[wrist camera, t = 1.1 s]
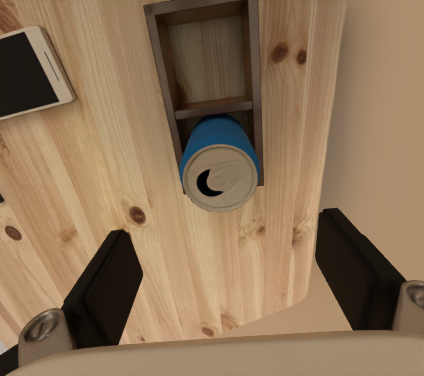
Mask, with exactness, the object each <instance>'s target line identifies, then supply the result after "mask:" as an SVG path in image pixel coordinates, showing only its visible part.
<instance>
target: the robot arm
mask: <svg viewBox="0 0 424 376" xmlns="http://www.w3.org/2000/svg"><path fill="white" fill-rule="evenodd" d="M315 258H316V262H317V264H318V266H319V268H320V270H321V272H322V274H323V275H324V277H325V279H326V281H327V283H328V285H329V287H330V288H331V290H332V292H333V294H334V296H335V298H336V300H337V301H338V303H339V305H340V307H341V309H342V311H343V313H344V314H345V316H346V318H347V320H348V322H349V323H350V326H351V328H352V329H353V331H333V332H311V333H295V334H279V335H260V336H244V337H229V338H213V339H198V340H183V341H169V342H154V343H140V344H126V345H118V344H119V342H120V339H121V336H122V333H123V330H124V328H125V325H126V322H127V319H128V317H129V314H130V311H131V308H132V305H133V303H134V300H135V297H136V294H137V292H138V289H139V286H140V283H141V281H142V277H143V271H142V268H141V265H140V263H139V260H138V257H137V254H136V252H135V249H134V246H133V244H132V241H131V238H130V235H129V233H128V232H125V231H124V230H114V231H111V232H110V233H109V234H108V236H107V237H106V239H105V240H104V242H103V243H102V245H101V246H100V248H99V249H98V251H97V252H96V254H95V255H94V257H93V258H92V260H91V261H90V263H89V264H88V266H87V267H86V269H85V270H84V272H83V273H82V275H81V276H80V278H79V279H78V281H77V282H76V284H75V285H74V287H73V288H72V290H71V291H70V293H69V294H68V296H67V297H66V299H65V300H64V302H63V303H64V304H63V306H62V307H61V309H59V308H52V309H49V310H46V311H44V312H42V313H40V314H39V315H37V316H36V317H34V318H33V319H32V320H31V321H30V322H28V323H27V325H26V326H25V327H24V328H23V330H22V332H21V333H20V335H19V340H18V344H17V345H15V346H13V347H12V348H10V349H9V350H7V351H6V352H4V353H3V354H1V355H0V376H424V281H418V280H411V281H407V280H406V279H405V278H404V277H403V276H402V275H401V274H400V273H399V272H398V271H397V270H396V268H394V266H393V265H392V264H391V263H390V262H389V261H388V260H387V259H386V258H385V257H384V256H383V254H382V253H381V252H380V251H379V250H378V249H377V248H376V247H375V246H374V245H373V244H372V243H371V242H370V240H369V239H368V238H367V237H366V236H364V235H363V234H361V233H360V232H359V231H358V229H356V227H355V226H354V225H353V224H352V223H351V222H350V221H349V220H348V219H347V217H345V215H344V214H343V213H342V212H341V211H340V210H339V209H338V208H330V209H324V210H323V212H320V213H319V219H318V230H317V242H316V252H315Z"/></svg>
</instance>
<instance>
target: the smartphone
mask: <svg viewBox="0 0 424 376" xmlns="http://www.w3.org/2000/svg"><path fill="white" fill-rule="evenodd" d="M74 100H76V96H75V93H74V91H73V89H72V87H71V85H70V83H69V81H68V79H67V76H66V74H65V72H64V70H63V68H62V66H61V64H60V61H59V59H58V57H57V55H56V53H55V51H54V49H53V46H52V44H51V42H50V40H49V38H48V36H47V34H46V32H45V29H44V28H42V27H39V26H29V27H26V28H23V29H20V30H16V31H13V32H10V33H7V34H4V35H0V120H4V119H7V118H11V117H15V116H19V115H23V114H26V113H30V112H34V111H38V110H42V109H45V108H49V107H53V106H57V105H61V104H65V103H68V102H72V101H74Z"/></svg>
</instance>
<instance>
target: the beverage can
mask: <svg viewBox="0 0 424 376" xmlns="http://www.w3.org/2000/svg"><path fill="white" fill-rule="evenodd" d="M179 174H180V180H181V184H182V186H183V188H184V190H185V192H186V194H187V196H188V197H189V198H190V200H191V201H192V202H193V203H194V204H196V205H197V206H199V207H200V208H202V209H204V210H207V211H211V212H228V211H232V210H235V209H237V208H239V207H241V206H242V205H244V204H245V203H246V202H247V201H248V200H249V199H250V198H251V196H252V195H253V193H254V191H255V189H256V187H257V184H258V182H259V177H260V164H259V160H258V157H257V155H256V153H255V151H254V149H253V147H252V145H251V143H250V141H249V139H248V137H247V135H246V133H245V131H244V129H243V127H242V125H241V124H240V123H239V121H238V120H237V119H235V118H234V117H233V116H231V115H228V114H225V113H222V114H215V115H208V116H204V117H203V118H201V119H200V120H199V121H198V122H197V123H196V125H195V126H194V128H193V131H192V133H191V136H190V139H189V141H188V144H187V146H186V149H185V152H184V154H183V157H182V160H181V163H180V169H179Z"/></svg>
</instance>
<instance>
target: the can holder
mask: <svg viewBox="0 0 424 376" xmlns="http://www.w3.org/2000/svg"><path fill="white" fill-rule="evenodd" d="M143 8H144V12H145V17H146V21H147V26H148V31H149V35H150V40H151V45H152V49H153V54H154V58H155V63H156V68H157V72H158V77H159V82H160V86H161V91H162V95H163V100H164V105H165V109H166V114H167V119H168V123H169V128H170V133H171V137H172V142H173V146H174V151H175V156H176V160H177V165H178V170H179V169H180V163H181V160H182V157H183V154H184V152H185V149H186V146H187V144H188V139H187V134H186V129H185V123H184V119H186V118H193V117H200V116H208V115H215V114H222V113H230V112H237V111H244V110H247V119H248V135H249V141H250V143H251V145H252V147H253V149H254V151H255V153H256V155H257V157H258V160H259V164H260V177H259V182H258V184H257V186H264V169H263V138H262V107H261V77H260V46H259V15H258V0H170V1H164V2H158V3H153V4H147V5H143ZM239 14H241V19H242V36H243V52H244V69H245V86H246V96H239V97H232V98H225V99H218V100H211V101H204V102H197V103H189V104H182V105H181V101H180V96H179V91H178V85H177V80H176V74H175V69H174V63H173V58H172V53H171V47H170V42H169V36H168V31H167V26H173V25H179V24H185V23H191V22H197V21H203V20H209V19H215V18H221V17H227V16H233V15H239ZM182 188H183V186H182ZM183 193H184V194H186V192H185V190H184V188H183Z"/></svg>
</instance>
